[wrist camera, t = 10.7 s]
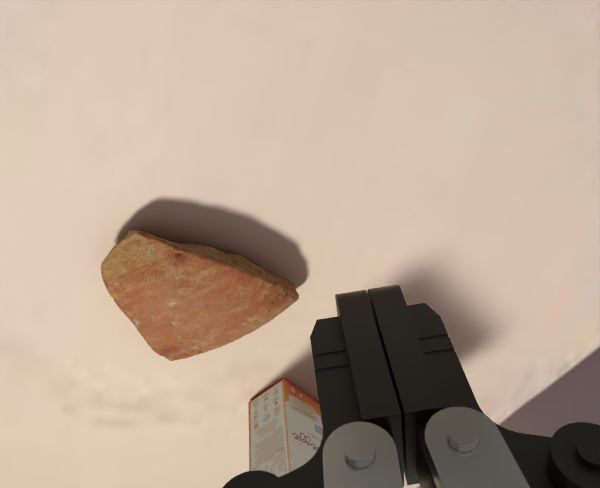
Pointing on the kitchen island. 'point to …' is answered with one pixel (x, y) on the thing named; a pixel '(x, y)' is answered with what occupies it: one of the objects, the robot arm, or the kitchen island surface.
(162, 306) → the ceramic shard
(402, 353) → the robot arm
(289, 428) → the cracker box
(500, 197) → the kitchen island surface
